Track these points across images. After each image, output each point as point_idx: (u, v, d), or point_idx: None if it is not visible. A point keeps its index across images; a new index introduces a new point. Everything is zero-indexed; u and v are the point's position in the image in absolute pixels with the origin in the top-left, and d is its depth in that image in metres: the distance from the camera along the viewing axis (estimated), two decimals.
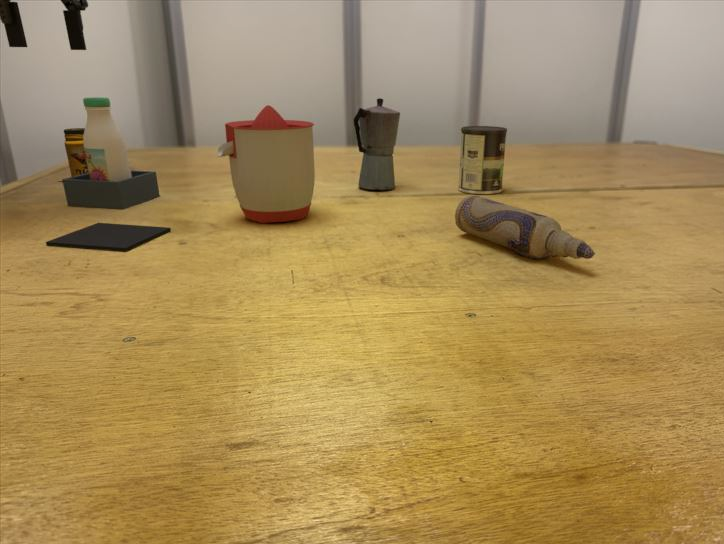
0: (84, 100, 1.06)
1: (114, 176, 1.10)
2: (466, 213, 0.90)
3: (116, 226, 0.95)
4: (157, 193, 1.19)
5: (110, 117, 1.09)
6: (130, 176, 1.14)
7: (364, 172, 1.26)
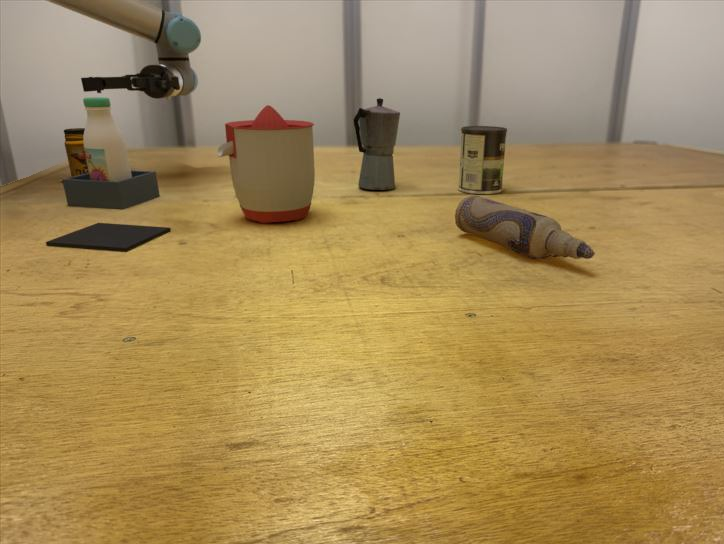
0: (84, 100, 1.06)
1: (114, 176, 1.10)
2: (466, 213, 0.90)
3: (116, 226, 0.95)
4: (157, 193, 1.19)
5: (110, 117, 1.09)
6: (130, 176, 1.14)
7: (364, 172, 1.26)
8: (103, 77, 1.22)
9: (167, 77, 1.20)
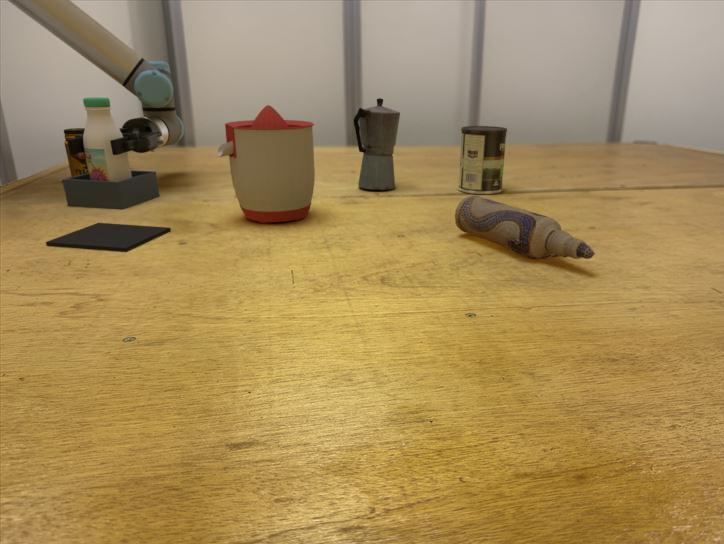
0: (84, 100, 1.06)
1: (114, 176, 1.10)
2: (466, 213, 0.90)
3: (116, 226, 0.95)
4: (157, 193, 1.19)
5: (110, 117, 1.09)
6: (130, 176, 1.14)
7: (364, 172, 1.26)
8: None
9: (134, 137, 1.12)
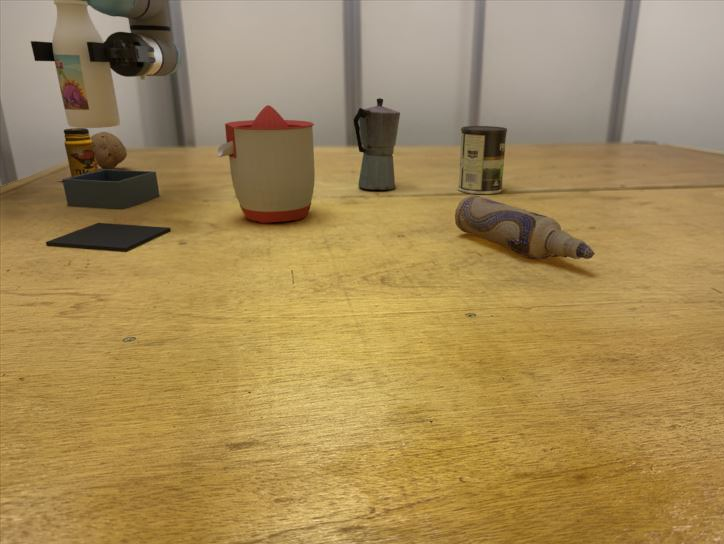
0: None
1: (92, 92, 0.86)
2: (466, 213, 0.90)
3: (116, 226, 0.95)
4: (157, 193, 1.19)
5: (87, 15, 0.85)
6: (114, 96, 0.90)
7: (364, 172, 1.26)
8: None
9: (119, 44, 0.88)
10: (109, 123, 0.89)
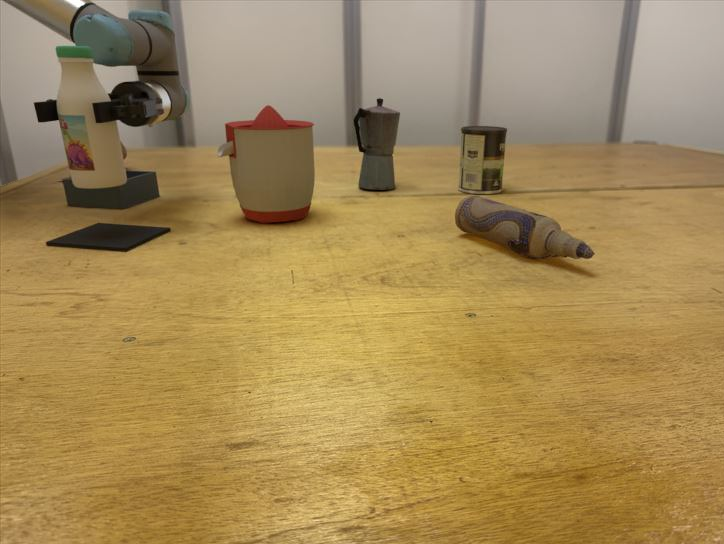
0: (57, 48, 0.78)
1: (98, 152, 0.82)
2: (466, 213, 0.90)
3: (116, 226, 0.95)
4: (157, 193, 1.19)
5: (93, 73, 0.81)
6: (120, 154, 0.86)
7: (364, 172, 1.26)
8: None
9: (126, 101, 0.84)
10: (116, 183, 0.85)
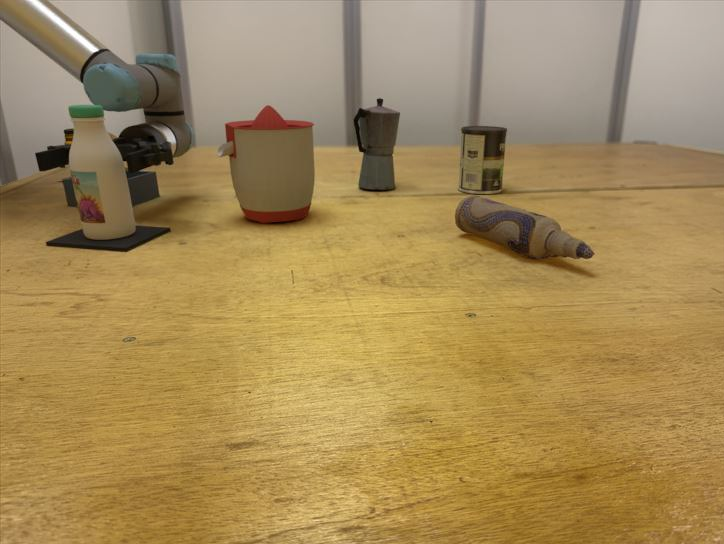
0: (70, 109, 0.81)
1: (109, 206, 0.85)
2: (466, 213, 0.90)
3: None
4: (157, 193, 1.19)
5: (104, 130, 0.84)
6: (130, 205, 0.89)
7: (364, 172, 1.26)
8: (68, 146, 0.90)
9: (156, 149, 0.88)
10: (125, 233, 0.88)
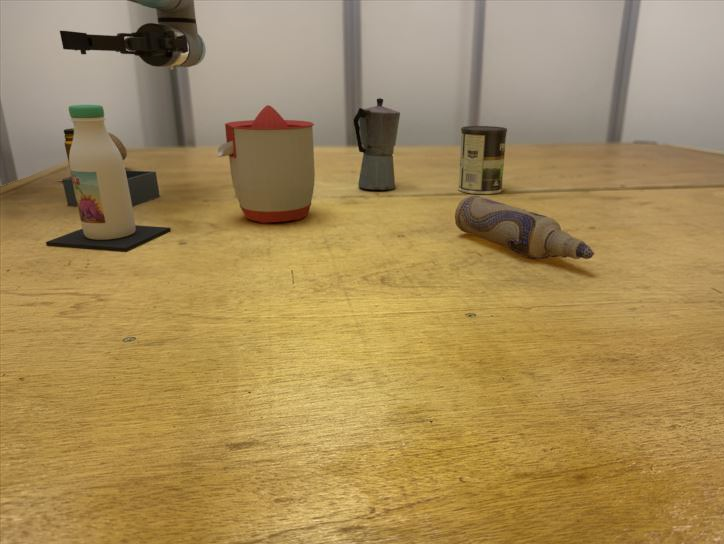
0: (70, 109, 0.81)
1: (109, 206, 0.85)
2: (466, 213, 0.90)
3: None
4: (157, 193, 1.19)
5: (104, 130, 0.84)
6: (130, 205, 0.89)
7: (364, 172, 1.26)
8: None
9: (172, 35, 0.94)
10: (125, 233, 0.88)
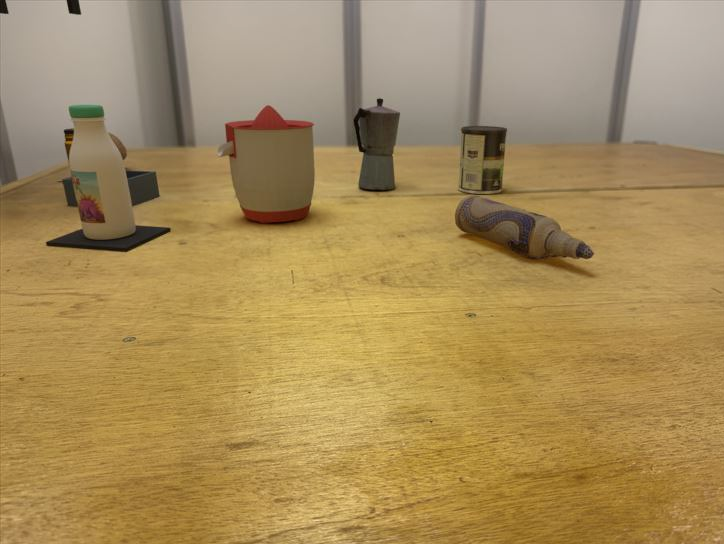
0: (70, 109, 0.81)
1: (109, 206, 0.85)
2: (466, 213, 0.90)
3: None
4: (157, 193, 1.19)
5: (104, 130, 0.84)
6: (130, 205, 0.89)
7: (364, 172, 1.26)
8: None
9: None
10: (125, 233, 0.88)
